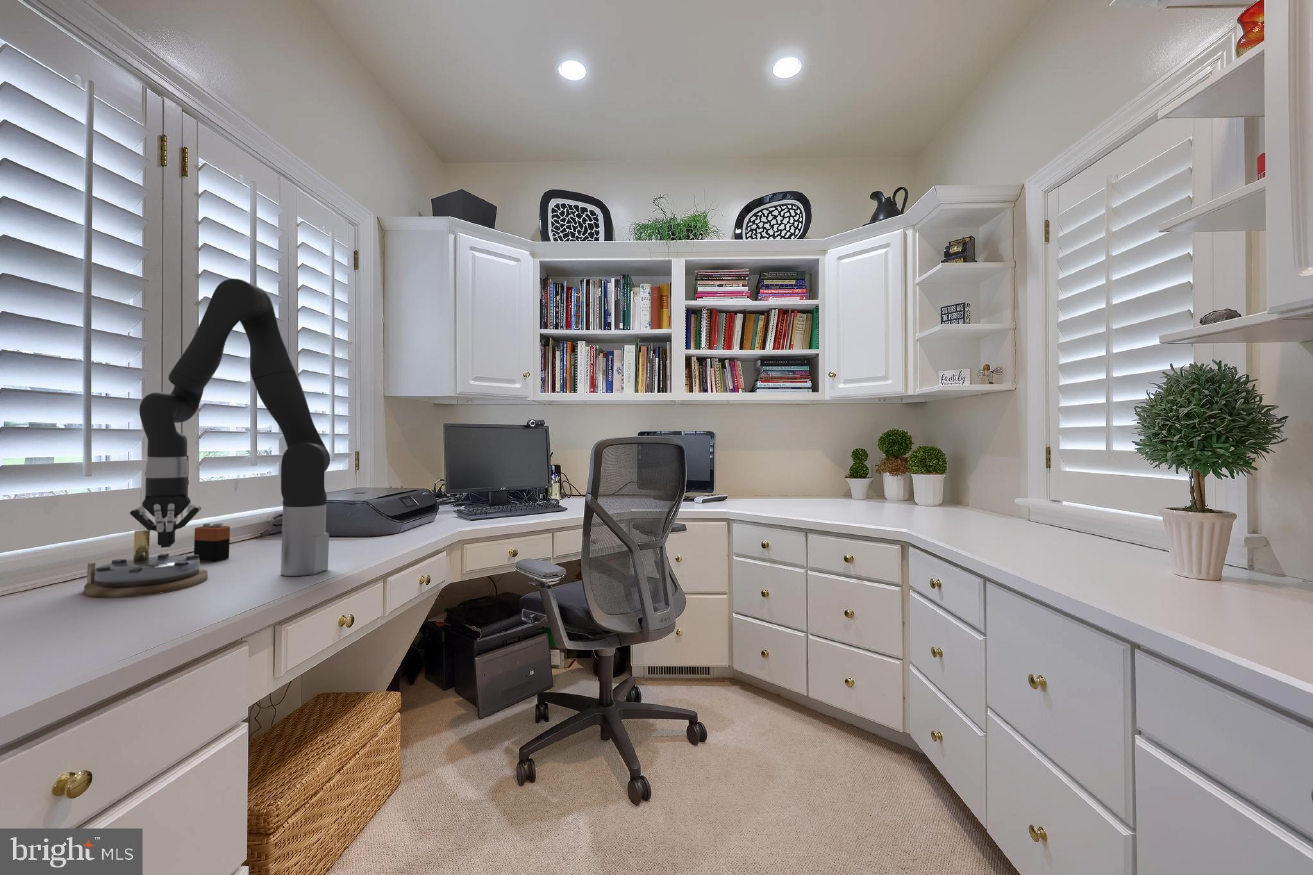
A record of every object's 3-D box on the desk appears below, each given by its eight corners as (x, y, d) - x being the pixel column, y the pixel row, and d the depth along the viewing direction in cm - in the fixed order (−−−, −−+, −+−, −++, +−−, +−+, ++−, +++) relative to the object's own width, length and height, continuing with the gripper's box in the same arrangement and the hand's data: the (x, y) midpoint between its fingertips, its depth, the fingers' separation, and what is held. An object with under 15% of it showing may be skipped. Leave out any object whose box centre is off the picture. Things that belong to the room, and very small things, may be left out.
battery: (215, 562, 140) (216, 525, 140) (192, 561, 140) (193, 524, 141) (230, 558, 144) (231, 522, 144) (207, 557, 145) (209, 521, 145)
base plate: (229, 574, 128) (229, 550, 128) (154, 598, 108) (155, 570, 108) (145, 573, 127) (146, 549, 127) (54, 597, 107) (55, 568, 107)
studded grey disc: (217, 567, 127) (218, 528, 127) (160, 586, 110) (161, 541, 110) (140, 567, 125) (142, 528, 125) (70, 587, 108) (72, 541, 108)
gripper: (206, 473, 131) (205, 541, 131) (135, 475, 125) (134, 546, 125) (199, 475, 125) (197, 547, 125) (123, 477, 118) (122, 552, 118)
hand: (166, 546), depth 125 cm, fingers closed
